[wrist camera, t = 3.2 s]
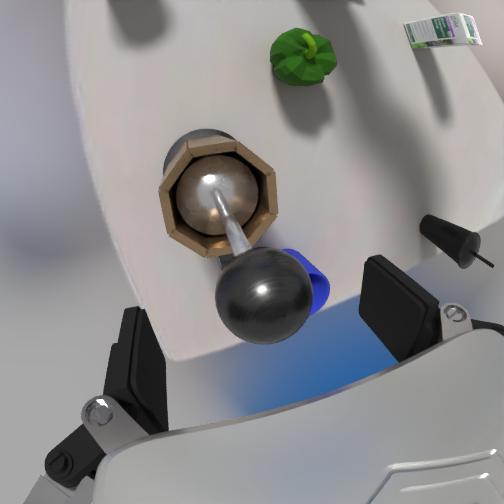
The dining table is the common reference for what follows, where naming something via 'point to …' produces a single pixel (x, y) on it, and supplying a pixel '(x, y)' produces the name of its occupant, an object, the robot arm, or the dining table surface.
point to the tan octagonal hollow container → (193, 150)
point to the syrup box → (443, 31)
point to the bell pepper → (302, 57)
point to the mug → (314, 281)
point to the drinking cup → (453, 240)
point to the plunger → (244, 254)
